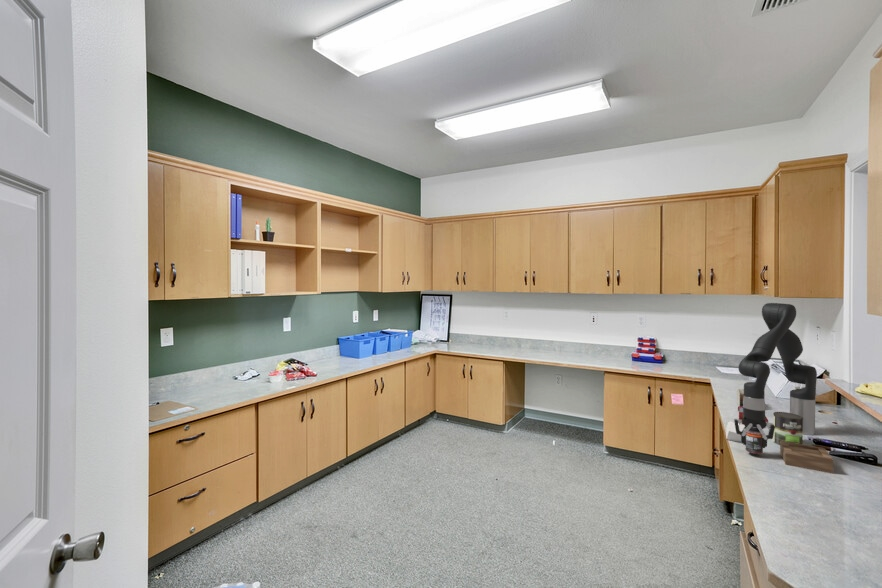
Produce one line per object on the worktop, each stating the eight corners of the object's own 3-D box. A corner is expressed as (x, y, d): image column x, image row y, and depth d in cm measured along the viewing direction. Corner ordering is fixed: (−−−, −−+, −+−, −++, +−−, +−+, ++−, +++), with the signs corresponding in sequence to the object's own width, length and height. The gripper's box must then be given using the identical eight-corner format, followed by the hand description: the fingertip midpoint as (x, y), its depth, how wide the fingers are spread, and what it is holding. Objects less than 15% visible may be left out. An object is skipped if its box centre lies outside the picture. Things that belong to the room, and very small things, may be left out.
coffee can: (807, 451, 173) (808, 419, 173) (779, 448, 176) (779, 417, 176) (796, 443, 183) (796, 412, 182) (768, 440, 186) (769, 410, 186)
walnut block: (780, 453, 171) (780, 440, 171) (824, 461, 163) (824, 447, 163) (785, 465, 160) (785, 451, 160) (833, 474, 152) (833, 459, 152)
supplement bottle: (754, 448, 172) (754, 423, 172) (766, 454, 166) (766, 428, 166) (741, 449, 172) (741, 423, 172) (752, 454, 166) (752, 428, 166)
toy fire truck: (769, 432, 197) (769, 411, 197) (738, 427, 204) (738, 407, 204) (767, 428, 203) (767, 408, 203) (737, 423, 210) (737, 404, 210)
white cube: (741, 433, 186) (744, 425, 183) (741, 443, 182) (745, 435, 179) (726, 429, 189) (728, 421, 186) (726, 439, 185) (728, 431, 182)
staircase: (738, 414, 227) (739, 385, 227) (736, 409, 237) (736, 381, 236) (758, 416, 223) (758, 387, 222) (755, 411, 232) (755, 383, 232)
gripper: (773, 407, 168) (773, 446, 168) (732, 402, 176) (732, 439, 176) (777, 412, 162) (777, 452, 162) (734, 406, 169) (734, 445, 170)
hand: (753, 445), depth 169 cm, fingers closed on supplement bottle, 6 cm apart
